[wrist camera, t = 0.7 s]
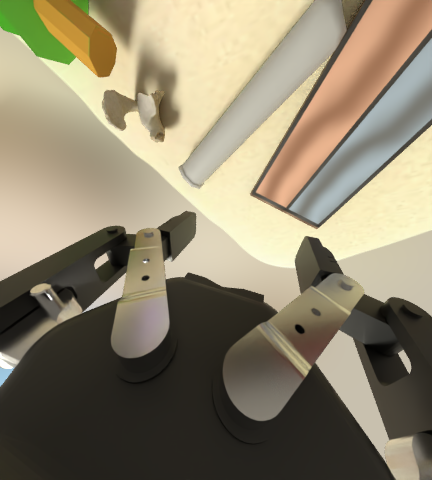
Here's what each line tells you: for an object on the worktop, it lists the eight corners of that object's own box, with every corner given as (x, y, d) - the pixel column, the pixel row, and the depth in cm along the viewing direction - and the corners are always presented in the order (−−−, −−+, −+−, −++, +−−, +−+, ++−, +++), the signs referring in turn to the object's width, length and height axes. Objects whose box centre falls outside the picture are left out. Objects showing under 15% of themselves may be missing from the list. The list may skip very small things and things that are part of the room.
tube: (333, -47, 13) (173, 164, 27) (365, 9, 13) (191, 190, 28) (324, 8, 18) (191, 165, 32) (349, 49, 18) (206, 187, 32)
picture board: (250, 193, 31) (250, 195, 30) (455, -156, 12) (470, -177, 11) (315, 226, 32) (316, 229, 31) (608, -48, 12) (633, -60, 12)
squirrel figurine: (188, 113, 24) (136, 142, 21) (178, 140, 30) (136, 166, 26) (146, 57, 22) (79, 78, 18) (144, 98, 28) (93, 120, 24)
